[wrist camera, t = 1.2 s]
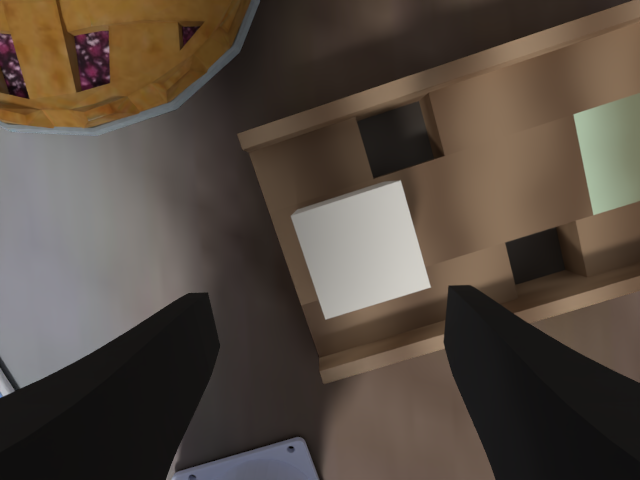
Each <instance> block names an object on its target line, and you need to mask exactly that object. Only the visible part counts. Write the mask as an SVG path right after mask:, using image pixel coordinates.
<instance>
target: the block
mask: <svg viewBox="0 0 640 480" xmlns="http://www.w3.org/2000/svg"><path fill="white" fill-rule="evenodd" d="M291 218H292V221H293V224H294V227H295V230H296V233H297V236H298V239H299V242H300V245H301V248H302V251H303V254H304V257H305V260H306V263H307V266H308V269H309V272H310V275H311V278H312V281H313V284H314V287H315V290H316V293H317V296H318V299H319V302H320V305H321V308H322V311H323V314H324V317H325V320H326V319H329V318H333V317H336V316H339V315H342V314H346V313H349V312H352V311H355V310H359V309H362V308H365V307H369V306H372V305H375V304H378V303H382V302H385V301H388V300H391V299H395V298H398V297H401V296H405V295H408V294H411V293H414V292H418V291H421V290H424V289H427V288H431V286H430V282H429V279H428V275H427V272H426V268H425V265H424V261H423V258H422V254H421V250H420V247H419V243H418V240H417V236H416V233H415V229H414V226H413V222H412V219H411V215H410V211H409V208H408V204H407V201H406V197H405V194H404V190H403V187H402V183H401V181H385V182H381V183H378V184H375V185H372V186H369V187H366V188H362V189H359V190H356V191H353V192H350V193H347V194H344V195H341V196H338V197H335V198H331V199H328V200H325V201H322V202H319V203H316V204H313V205H310V206H307V207H304V208H301V209H297V210H296V211H295V212H294V213H293V214H292V215H291Z"/></svg>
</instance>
